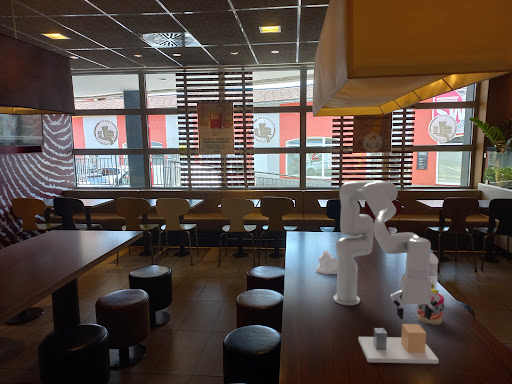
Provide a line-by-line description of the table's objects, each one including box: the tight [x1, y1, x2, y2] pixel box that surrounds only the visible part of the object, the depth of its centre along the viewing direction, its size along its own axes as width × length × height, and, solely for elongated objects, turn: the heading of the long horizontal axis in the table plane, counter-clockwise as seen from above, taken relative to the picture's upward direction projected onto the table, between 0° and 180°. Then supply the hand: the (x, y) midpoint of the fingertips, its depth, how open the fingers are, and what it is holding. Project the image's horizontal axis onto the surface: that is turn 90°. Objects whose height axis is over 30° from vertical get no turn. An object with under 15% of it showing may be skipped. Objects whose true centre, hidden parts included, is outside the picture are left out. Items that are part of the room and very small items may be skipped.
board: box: [358, 336, 440, 365], centre depth 129 cm, size 14×24×2 cm, turn 87°
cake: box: [416, 284, 445, 326], centre depth 152 cm, size 10×11×15 cm
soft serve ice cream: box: [315, 249, 337, 275], centre depth 210 cm, size 12×15×14 cm
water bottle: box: [429, 249, 439, 290], centre depth 170 cm, size 7×7×25 cm
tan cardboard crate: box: [400, 323, 427, 353], centre depth 128 cm, size 6×6×8 cm
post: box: [373, 327, 388, 350], centre depth 129 cm, size 4×4×8 cm
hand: (413, 317), depth 127 cm, fingers open, 9 cm apart
